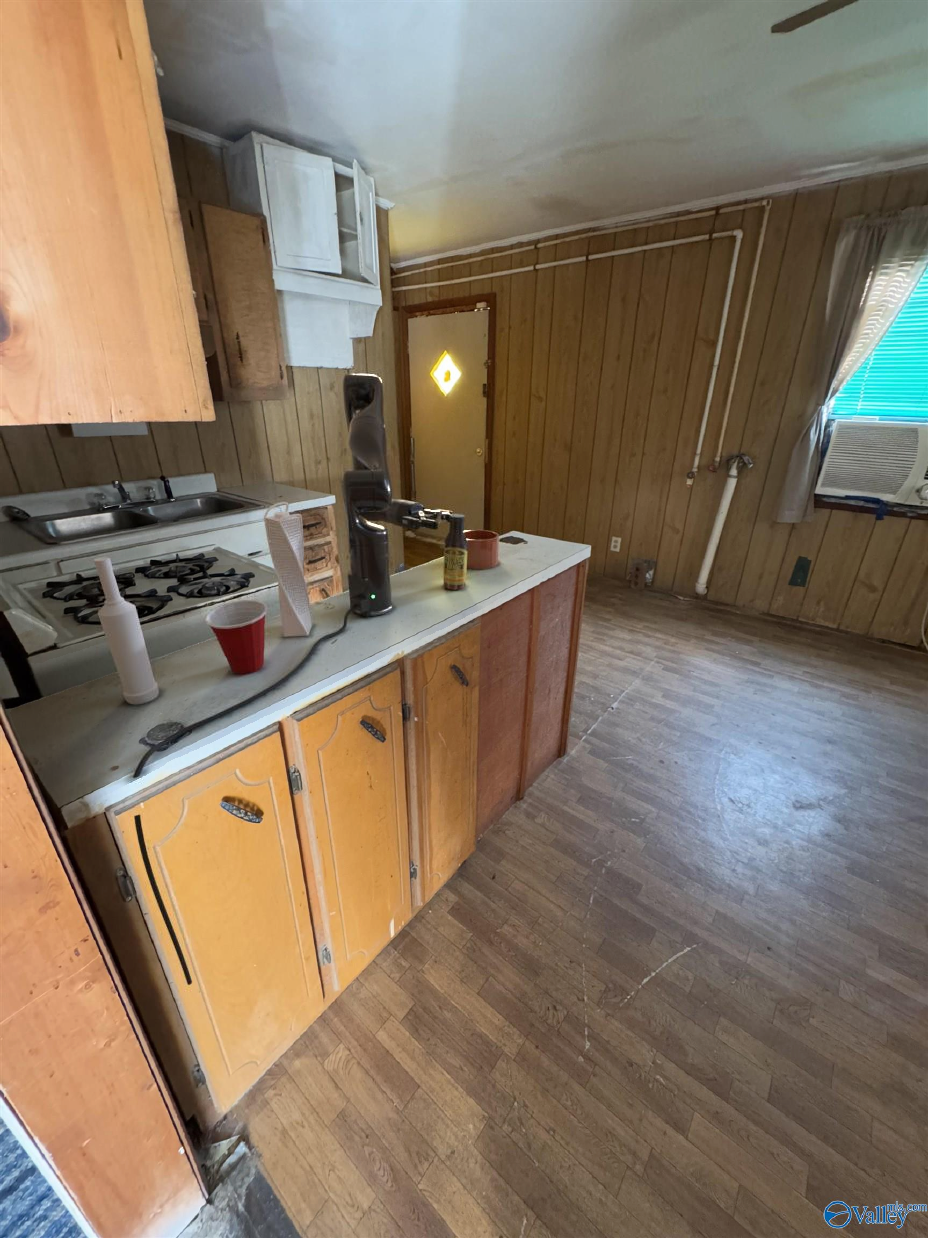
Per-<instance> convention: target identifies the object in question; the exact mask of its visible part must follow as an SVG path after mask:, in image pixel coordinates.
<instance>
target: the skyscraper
mask: <svg viewBox="0 0 928 1238" xmlns="http://www.w3.org/2000/svg"><path fill="white" fill-rule="evenodd" d="M283 505H285V511H277V512H274V515H272V516H271V515H270V516H268V514H269V512H270V511H271V510H272V509H274V508H275V507H278V506H283ZM289 505H290V503H289V502H287V501H280V502H276V503H274V504H272V505H271V506H269V507H268V508H267V509H266V511H265V513H264V516H263V520H264V521H263V523H264V527H265V533H266V539H267V544H268V549H269V555H270V558H271V562H272V565H273V568H274V571H275V574H276V577H277V589H278V601H279V609H280V611H279V612H280V617H281V624H282V625H281V626H282V633H283V638H286V637H309V634H310V632H311V629H312V628H313V626H314V623H313V616H312V608H311V600H310V595H309V591H308V585H307V582H306V578H305V574H304V571H303V569H304V558H305V557H304V556H305V547H304V546H305V543H304V542H305V541H304V540H305V539H304V528H303V517H302V514H301V513H293V514H290V512H289Z"/></svg>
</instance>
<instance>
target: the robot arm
mask: <svg viewBox="0 0 928 1238" xmlns="http://www.w3.org/2000/svg"><path fill="white" fill-rule="evenodd" d="M341 384H342V385H341V387H342V388H341V389H342V390H341V391H342V400H343V401H342V402H343V409H344V415H345V421H346V427H347V433H348V446H349V449H350V451H351V457H352V469H346V470H345V471H343V473H342V476H341V493H342V499H343V507H344V513H345V520H346V521H345V522H346V532H347V533H346V534H347V544H348V554H349V556H348V557H349V565H350V573H348V574H347V583H348V593H349V605H350V608H349V610H348V611H347V612H346V613H345V615H344V618H343V625H342V627H341V628H339V629H338V630H337V631H334V632H332V633H329V634H326V635H324V636H322V637H321V638H319V639H318V640H317V641H316V642H315V643H314V645H313V646H312V648H311V649H310V651H308V654H307V655H306V656H305V657H304V658H303V659H302V660H301V662H300V663H299V664H298V665H297V666H296V667H295V668H294V669H292V670H291V671H290V672H289V673H288V674H286V675H285V676H284V677H282V678H281V679H280V680H278V681H277V682H275V683H274V684H272V685H270V686H269V687H266V688H265V689H263V690H262V691H259V692H258V693H257V694H254V695H253V696H251V697H248V698H247V699H246V700H243V701H241V702H238V703H237V704H235V705H232V706H230V707H228V708H226V709H224V710H222V711H219V712H218V713H216V714H213V715H211V716H208V717H206V718H204V719H202V720H199V721H197V722H195V723H192V724H190V725H188V726H185V727H184V728H182V729H180V730H178V731H176V732H174V733H173V734H171V735H170V736H168V737H166V738H165V739H163V740H162V741H160V742H159V743H157V744H155V745H154V746H152V747H151V748H150V749H148V751H147V752H146V753H145V754H144V755H143V757H141V759H140V761H139V763H138V764H137V766H136V768H135V770H134V773H133V776H132V777H133V778H134V779H136V778H138V777H140V775H141V774H142V771H143V770H144V768H145V765H146V764H147V762H148V760H149V759H150V758H151V756H153V754H154V753H155V752H157V751H158V750H160V749H161V748H163V747H164V746H166V745H168V744H169V743H171V742H172V741H175V739H177V738H179V737H180V736H182V735H184V734H186V733H187V732H190V731H192V730H194V729H197V728H199V727H201V726H204V725H206V724H208V723H211V722H213V721H215V720H217V719H219V718H221V717H224V716H225V715H228V714H230V713H232V712H234V711H236V710H239V709H240V708H242V707H245V706H246V705H248V704H250V703H252V702H254V701H256V700H258V699H260V698H261V697H263V696H265V695H267V694H268V693H270V692H272V691H273V690H275V689H277V688H278V687H280V686H281V685H282V684H284V683H285V682H286V681H288V680H289V679H290V678H291V677H292V676H294V675H295V674H296V673H297V672H299V670H301V668H303V667H304V665H305V664H306V663H307V662H308V661H309V660H310V659H311V657H312V656H313V655H314V653H315V651H316V649H317V648H318V646H320V644H321V643H323V642H324V641H325V640H327V639H330V638H332V637H335V636H337V635H340V634H342V633H343V631H345V629H346V628H347V625H348V619H349V616H350V615H351V613H352V612H353V613H355V614H357V615H359V616H362V617H365V618H369V617H375V616H382V615H385V614H387V613H390V612H391V611H392V610H393V607H394V606H393V598H392V584H391V583H392V581H391V565H390V563H391V561H390V547H389V531H388V529H387V528H386V527H385V526H384V525H382V524H380V523H379V524H378V523H376V522H383V523H387V524H392V525H394V526H397V527H400V528H405V529H410V530H415V531H416V530H420V529H428V530H438V529H439V525H440V524H442V523H449V524H450V521H449V517H450V515H451V514H453V511H452V510H446V509H440V508H435V509H434V510H431V509H428V508H427V509H426V508H425V506H424V505H423V504H422V503H420V502H417V501H411V500H407V499H395V498H393V487H392V480H391V474H390V469H389V462H388V439H387V429H386V422H385V388H384V384H383V381H382V379H381V377H379V376H378V375H377V374H370V373H346V374H344V375H343V378H342V383H341ZM133 817H134V819H133V820H134V825H135V826H134V827H135V831H136V837H137V841H138V842H137V843H138V846H139V850H140V855H141V858H142V861H143V866H144V869H145V872H146V875H147V878H148V882H149V884H150V887H151V890H152V893H153V895H154V898H155V901H156V904H157V906H158V908H159V911H160V914H161V916H162V920H163V922H164V925H165V926H166V930H167V931H168V935H169V937H170V940H171V942H172V944H173V947H174V950H175V952H176V955H177V957H178V960H179V963H180V966H181V969H182V972H183V975H184V978H185V980H186V984H187V985H188V986H190V985H192V983H193V980H192V977H191V973H190V971H189V968H188V964H187V962H186V959H185V956H184V953H183V950H182V948H181V946H180V942H179V939H178V938H177V934H176V932H175V929H174V926H173V925H172V922H171V919H170V916H169V914H168V912H167V909H166V906H165V903H164V901H163V898H162V895H161V892H160V889H159V887H158V884H157V881H156V878H155V875H154V871H153V868H152V865H151V862H150V858H149V855H148V854H149V853H148V850H147V846H146V842H145V836H144V831H143V826H142V819H141V818H142V817H141V814H137V815H134V816H133Z"/></svg>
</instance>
